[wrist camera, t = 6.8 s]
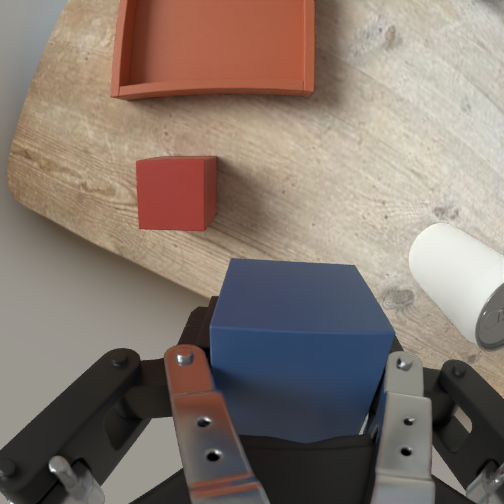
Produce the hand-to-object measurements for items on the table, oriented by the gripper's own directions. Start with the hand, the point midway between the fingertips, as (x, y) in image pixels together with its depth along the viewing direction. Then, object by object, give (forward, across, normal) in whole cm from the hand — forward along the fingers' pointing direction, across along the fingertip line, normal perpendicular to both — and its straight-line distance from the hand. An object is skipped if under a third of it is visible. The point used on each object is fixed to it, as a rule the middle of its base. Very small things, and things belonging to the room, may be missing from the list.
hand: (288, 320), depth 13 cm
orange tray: (+15, +6, -17) cm, 23 cm away
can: (+15, -15, +2) cm, 21 cm away
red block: (+15, +8, -3) cm, 17 cm away
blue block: (0, 0, 0) cm, 0 cm away
